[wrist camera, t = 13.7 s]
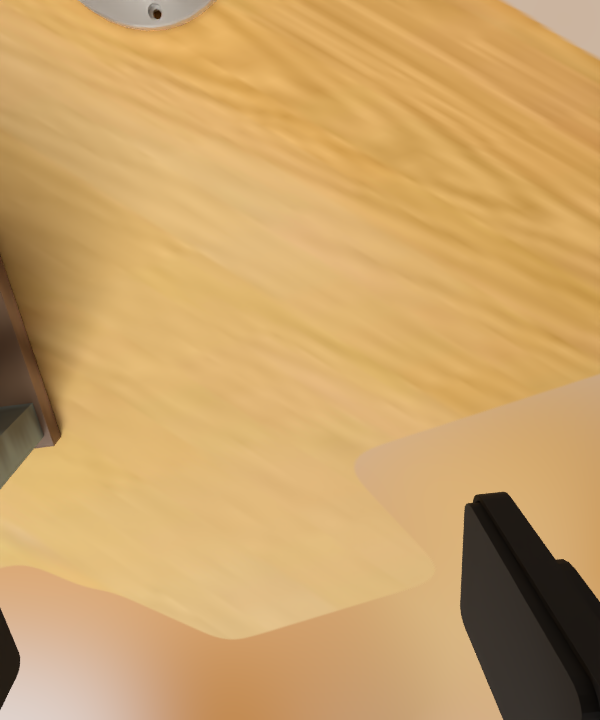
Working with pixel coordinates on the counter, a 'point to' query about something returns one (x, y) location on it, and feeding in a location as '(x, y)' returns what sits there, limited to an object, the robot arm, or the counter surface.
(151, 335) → the counter surface
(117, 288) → the counter surface
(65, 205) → the counter surface
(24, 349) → the post board
